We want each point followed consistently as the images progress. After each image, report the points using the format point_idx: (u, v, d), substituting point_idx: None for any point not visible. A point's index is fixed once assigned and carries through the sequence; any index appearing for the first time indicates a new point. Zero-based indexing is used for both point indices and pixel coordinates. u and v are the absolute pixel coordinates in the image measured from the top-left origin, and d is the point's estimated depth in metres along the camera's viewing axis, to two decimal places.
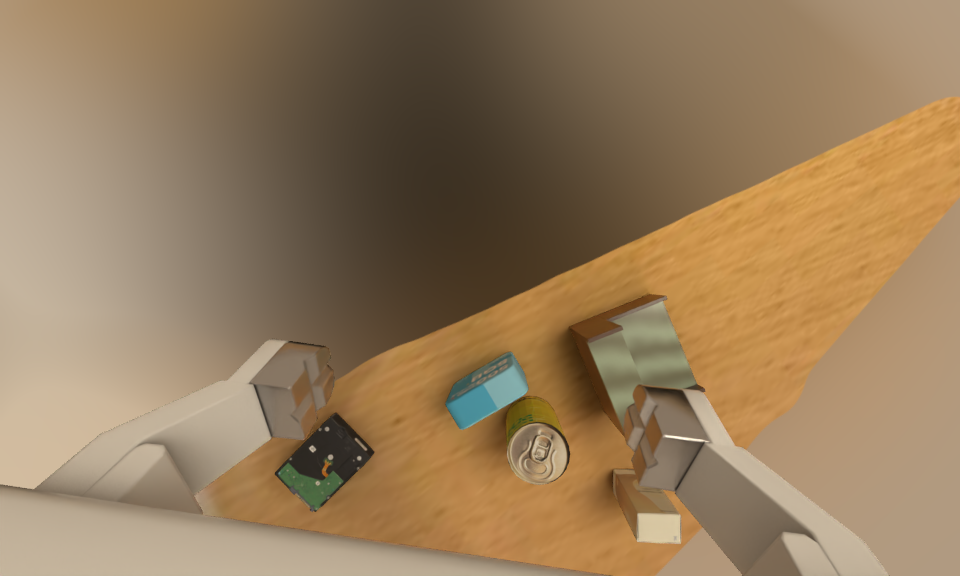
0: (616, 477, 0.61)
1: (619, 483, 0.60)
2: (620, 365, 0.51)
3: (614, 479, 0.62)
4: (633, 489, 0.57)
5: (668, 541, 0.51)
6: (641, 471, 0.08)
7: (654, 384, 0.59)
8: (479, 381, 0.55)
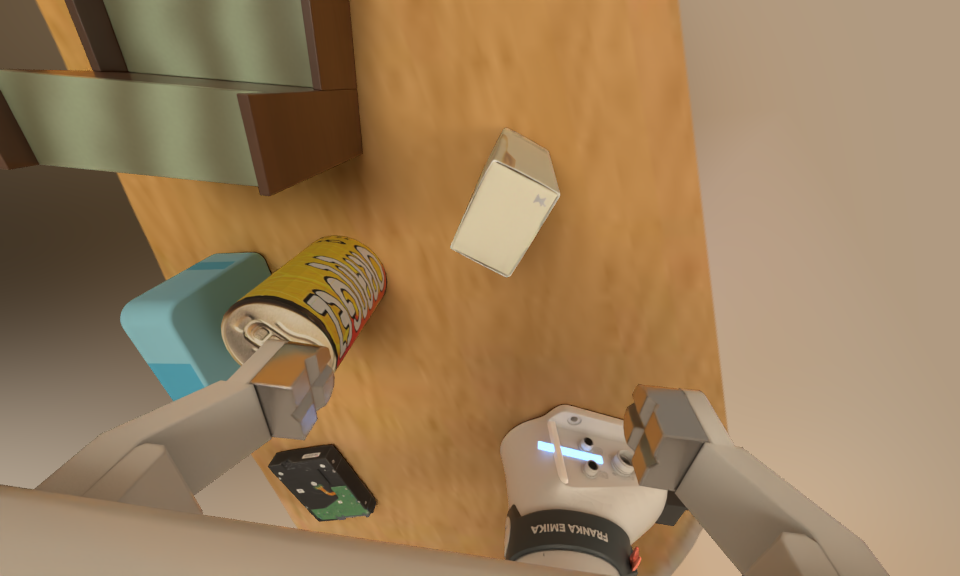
0: None
1: None
2: (91, 115, 0.20)
3: None
4: None
5: (541, 218, 0.20)
6: (641, 471, 0.08)
7: (282, 23, 0.24)
8: None
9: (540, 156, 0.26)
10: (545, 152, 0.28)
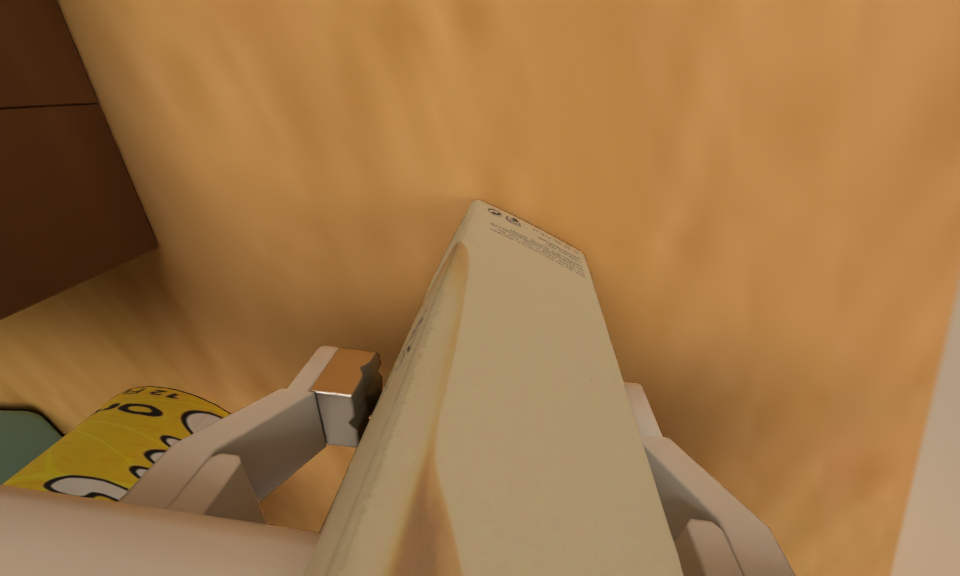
0: None
1: None
2: None
3: None
4: None
5: None
6: None
7: None
8: None
9: (575, 322, 0.08)
10: (580, 271, 0.11)
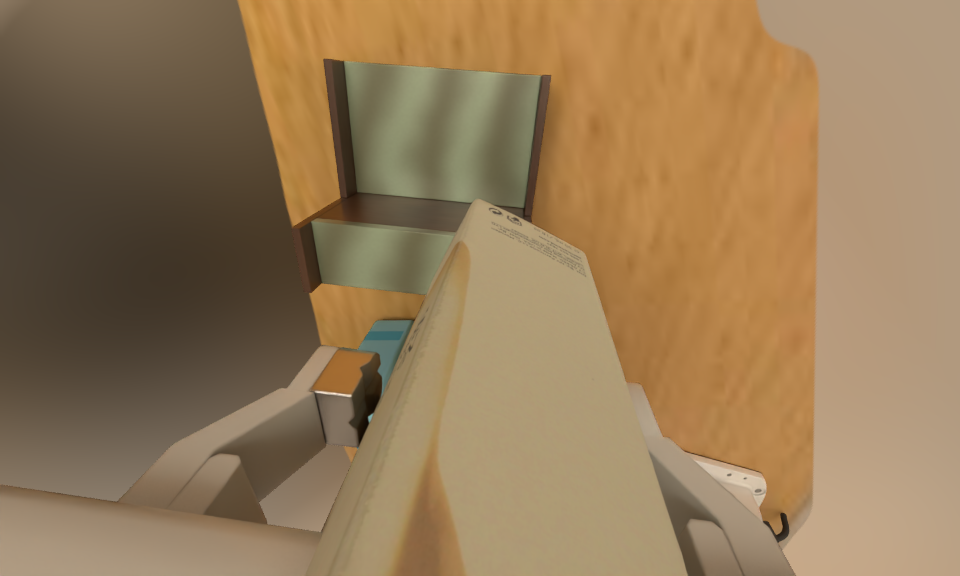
0: None
1: None
2: (381, 253, 0.26)
3: None
4: None
5: None
6: None
7: (499, 162, 0.30)
8: None
9: (577, 322, 0.08)
10: (581, 270, 0.11)
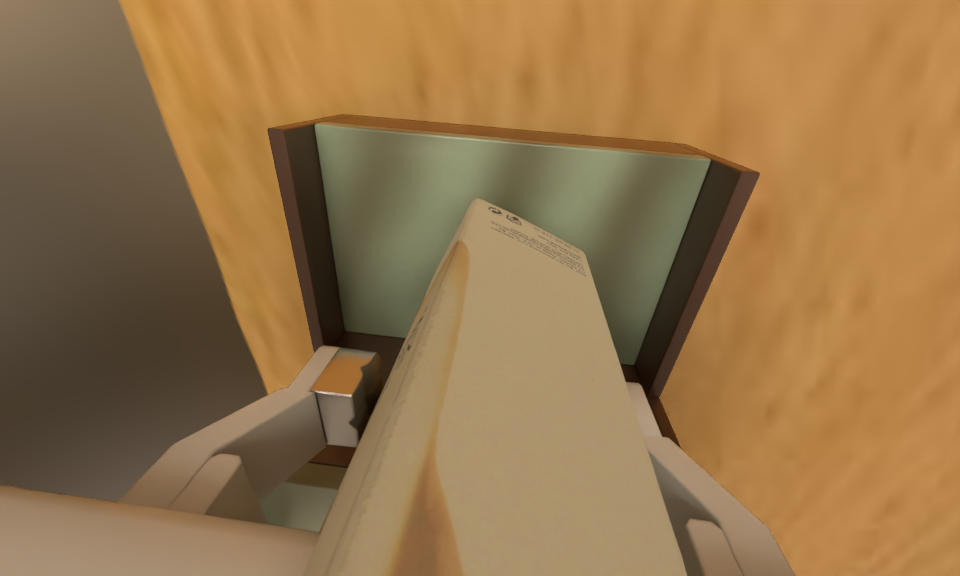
0: None
1: None
2: None
3: None
4: None
5: None
6: None
7: (603, 299, 0.16)
8: None
9: (576, 321, 0.08)
10: (581, 270, 0.11)
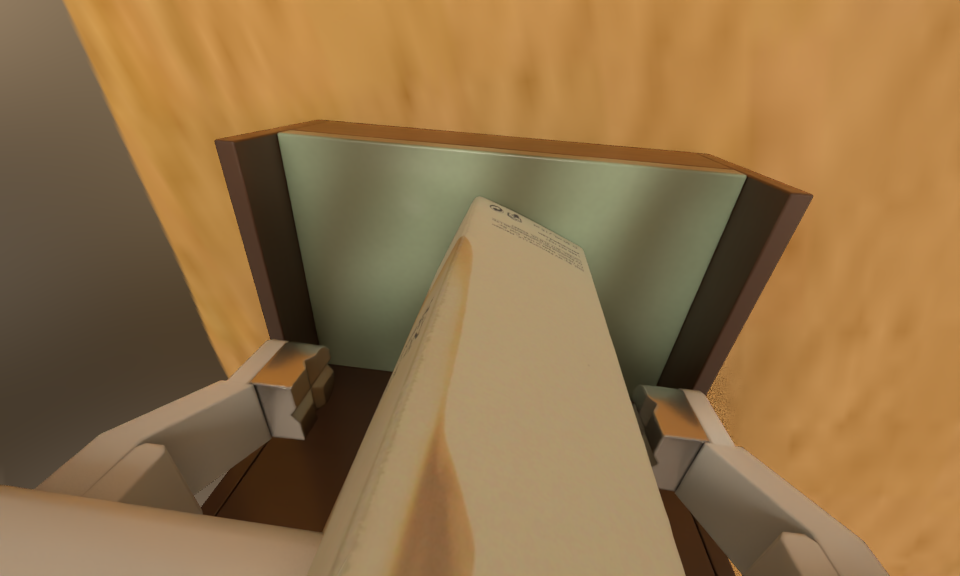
0: None
1: None
2: None
3: None
4: None
5: None
6: None
7: (614, 332, 0.14)
8: None
9: (574, 313, 0.08)
10: (579, 265, 0.11)
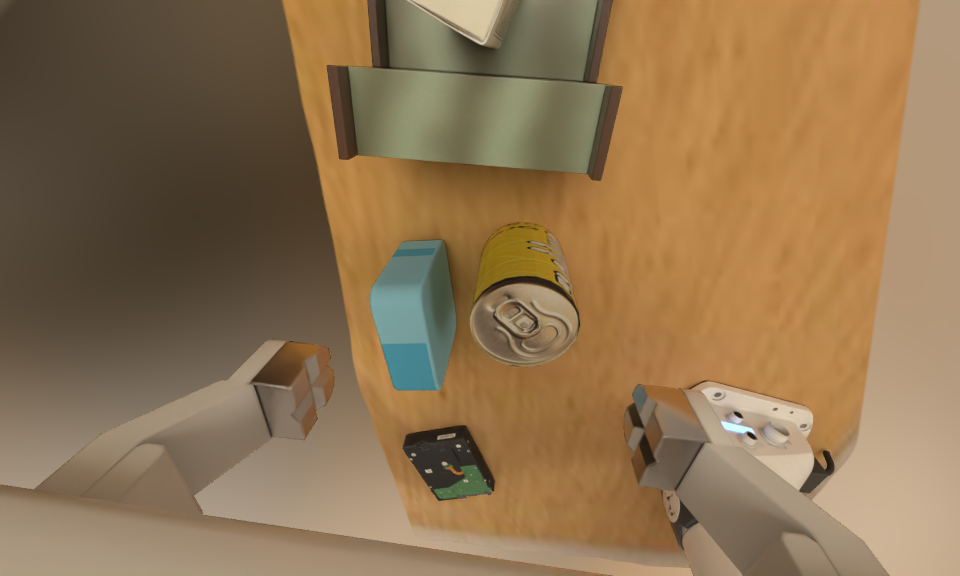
0: None
1: None
2: (431, 108, 0.22)
3: None
4: None
5: None
6: (641, 471, 0.08)
7: (559, 19, 0.26)
8: None
9: None
10: None
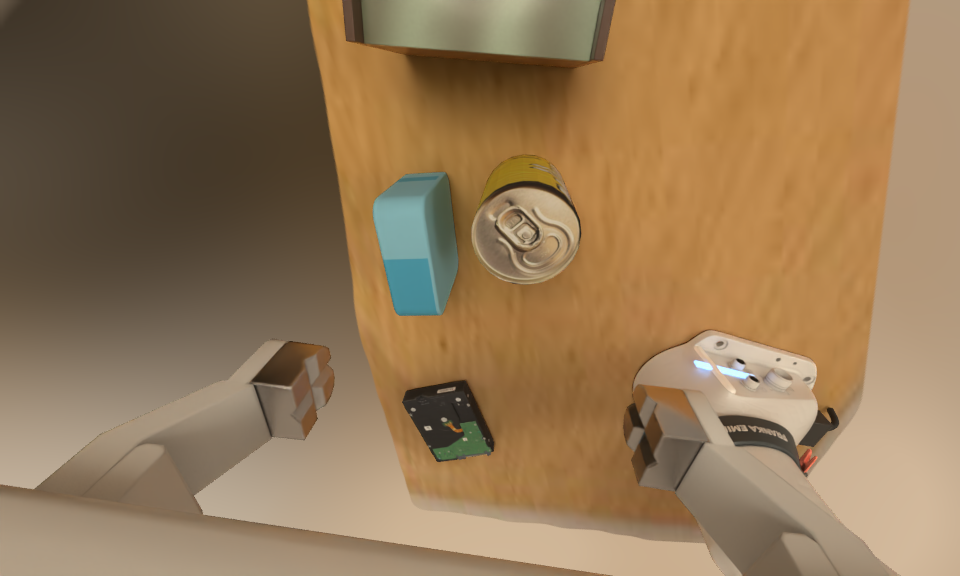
0: None
1: None
2: None
3: None
4: None
5: None
6: (641, 471, 0.08)
7: None
8: None
9: None
10: None
